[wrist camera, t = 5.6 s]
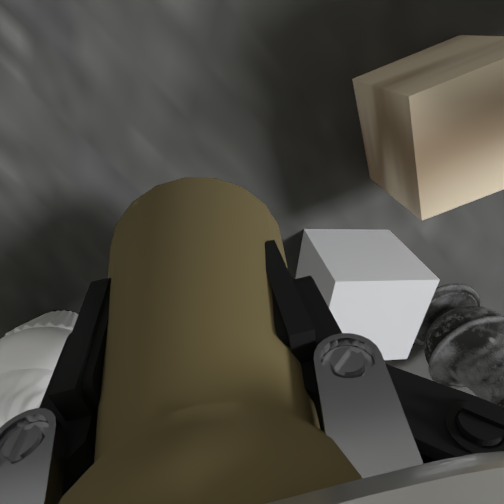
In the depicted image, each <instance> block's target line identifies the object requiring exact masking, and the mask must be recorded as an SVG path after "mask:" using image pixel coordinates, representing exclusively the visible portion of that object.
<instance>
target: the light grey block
mask: <svg viewBox="0 0 504 504" xmlns="http://www.w3.org/2000/svg"><path fill="white" fill-rule="evenodd" d="M306 276H312V278H313V279H314V281H315V283H316V285H317V287H318V289H319V291H320V292H321V294H322V296H323V298H324V300H325V302H326V304H327V305H328V307H329V309H330V311H331V313H332V315H333V317H334V318H335V320H336V322H337V324H338V326H339V328H340V330H341V332H342V333H352V334H357V335H361V336H363V337H365V338H368V339H370V340H371V341H372V342H373V343H374V344H376V345H377V347H378V348H379V350H380V352H381V353H382V356H383V359H384V360H398V359H407V358H408V355H409V353H410V350H411V348H412V346H413V343H414V341H415V338H416V336H417V334H418V331H419V329H420V326H421V324H422V322H423V319H424V317H425V314H426V312H427V309H428V307H429V305H430V302H431V300H432V297H433V295H434V293H435V290H436V288H437V285H438V283H439V281H440V279H439V278H438V277H437V276H436V275H435V274H434V273H432V272H431V271H430V270H429V269H428V268H427V267H426V266H425V265H424V264H423V263H422V262H421V261H420V260H419V259H418V258H417V257H416V256H415V255H414V254H413V253H412V252H411V251H410V250H409V249H408V248H407V247H406V246H405V245H404V244H403V243H402V242H401V241H400V240H399V239H398V238H397V237H396V236H395V235H394V234H393V233H392V232H391V231H390V230H352V229H304V232H303V238H302V243H301V249H300V255H299V260H298V266H297V271H296V277H295V279H297V278H302V277H306Z"/></svg>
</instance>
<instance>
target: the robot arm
mask: <svg viewBox="0 0 504 504" xmlns="http://www.w3.org/2000/svg"><path fill="white" fill-rule="evenodd" d="M265 262H266V272H267V275H268V278H269V281H270V285H271V287H272V300H273V315H274V327H275V330H276V333H277V336H278V337H279V339H280V340H281V341H282V342H283V343H284V344H285V345H287V346H288V347H290V348H291V352H292V354H293V355H294V356H295V357H296V358H297V360H298V361H299V362H300V363H301V369H302V375H303V381H304V386H305V390H306V391H307V393H308V394H309V396H310V397H311V399H312V401H313V402H314V404H315V408H316V412H317V417H318V421H319V425H320V430H322V431H323V432H325V433H326V435H327V436H329V437H331V438H332V439H333V440H334V442H335V443H336V444H337V445H338V447H339V448H340V449H341V451H342V452H343V453H344V454H345V456H346V457H347V458H348V460H349V461H350V462H351V463H352V465H353V466H354V467H355V469H356V470H357V471H358V473H359V474H360V475H361V476H362V479H359V480H355V481H351V482H347V483H343V484H339V485H336V486H332V487H328V488H324V489H320V490H316V491H313V492H309V493H305V494H301V495H297V496H293V497H290V498H286V499H282V500H278V501H274V502H270V503H266V504H504V409H502V408H501V407H499V406H498V405H496V404H493V403H491V402H489V401H487V400H485V399H482V398H479V397H476V396H473V395H471V394H468V393H465V392H462V391H459V390H457V389H454V388H451V387H448V386H445V385H443V384H440V383H437V382H434V381H431V380H429V379H426V378H423V377H420V376H417V375H415V374H412V373H409V372H406V371H403V370H401V369H398V368H395V367H392V366H389V365H387V364H385V361H384V359H383V356H382V353H381V352H380V350H379V348H378V347H377V345H376V344H374V343H373V342H372V341H371V340H370V339H368V338H365V337H363V336H361V335H357V334H352V333H342V332H341V330H340V328H339V326H338V324H337V322H336V320H335V318H334V317H333V315H332V313H331V311H330V309H329V307H328V305H327V304H326V302H325V300H324V298H323V296H322V294H321V292H320V291H319V289H318V287H317V285H316V283H315V281H314V279H313V278H312V276H306V277H302V278H297V279H293V280H292V278H291V276H290V273H289V271H288V269H287V267H286V264H285V262H284V260H283V258H282V255H281V253H280V251H279V249H278V247H277V244H276V242H275V240H270V241H266V242H265ZM110 283H111V278H107V279H102V280H98V281H94V282H91V284H90V286H89V289H88V292H87V294H86V297H85V299H84V302H83V305H82V307H81V310H80V312H79V315H78V318H77V320H76V323H75V325H74V328H73V330H72V333H70V334H69V335H68V337H67V339H66V341H65V344H64V346H63V349H62V351H61V354H60V356H59V359H58V361H57V364H56V366H55V369H54V371H53V374H52V377H51V379H50V382H49V384H48V387H47V389H46V392H45V394H44V397H43V399H42V402H41V404H40V407H39V408H35V409H31V410H27V411H25V412H23V413H21V414H19V415H17V416H15V417H13V418H12V419H10V420H9V421H8V422H6V423H5V424H4V425H3V426H2V427H0V504H59V502H60V500H61V498H62V497H63V495H64V494H65V493H66V492H67V491H68V490H69V489H70V488H71V487H72V486H73V485H74V484H75V483H76V482H77V481H78V479H79V478H80V477H81V476H82V475H83V474H84V473H85V472H86V471H87V470H88V469H89V468H90V467H91V466H92V465H93V464H94V456H95V443H96V429H97V416H98V405H99V402H100V393H101V384H102V375H103V365H104V356H105V347H106V337H107V328H108V319H109V301H110Z"/></svg>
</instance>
